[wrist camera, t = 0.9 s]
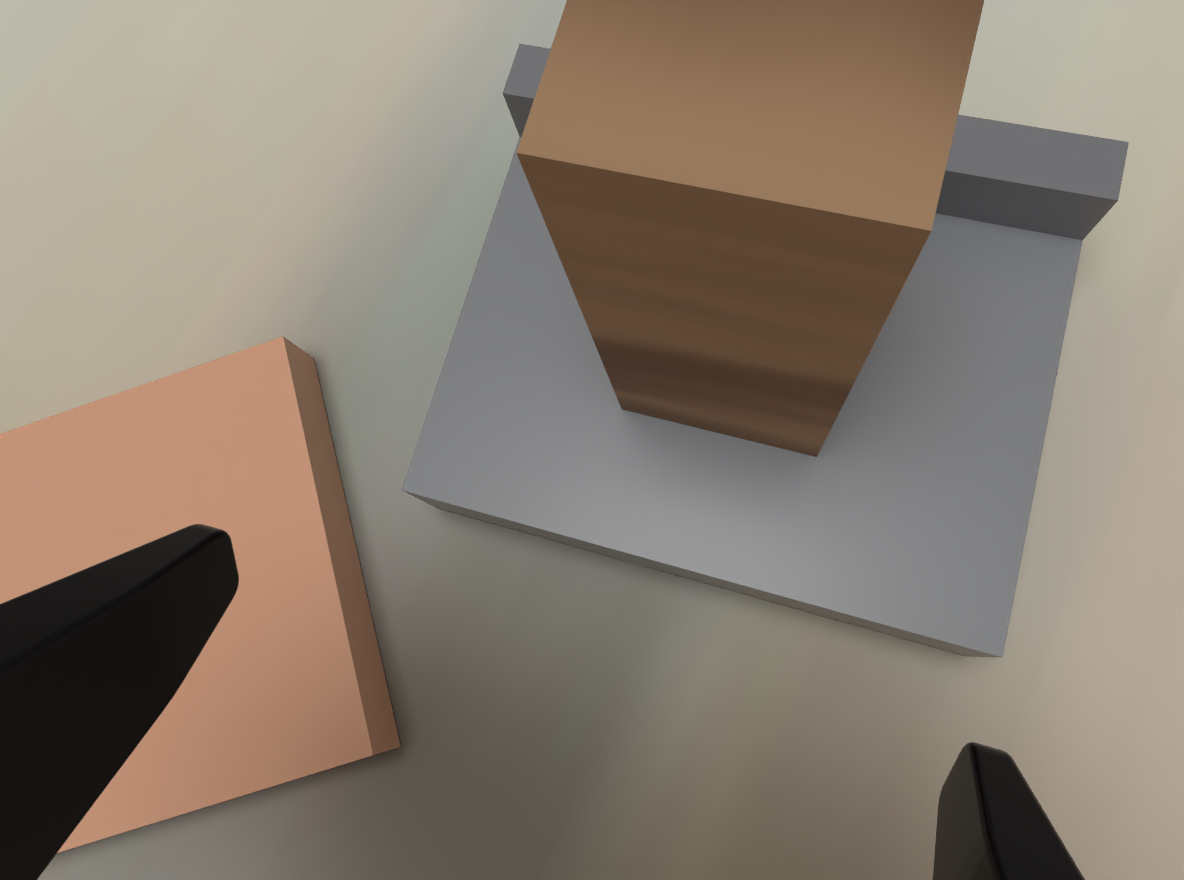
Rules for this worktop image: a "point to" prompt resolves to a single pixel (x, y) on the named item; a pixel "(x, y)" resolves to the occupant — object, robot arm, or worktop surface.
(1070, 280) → the slate shelf ledge
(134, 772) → the terracotta tile stand
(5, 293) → the worktop surface
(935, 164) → the walnut block
